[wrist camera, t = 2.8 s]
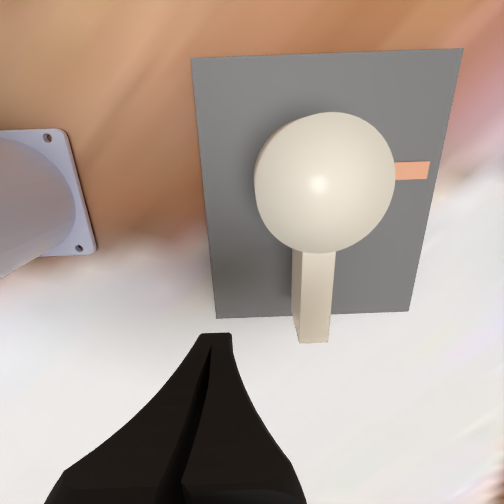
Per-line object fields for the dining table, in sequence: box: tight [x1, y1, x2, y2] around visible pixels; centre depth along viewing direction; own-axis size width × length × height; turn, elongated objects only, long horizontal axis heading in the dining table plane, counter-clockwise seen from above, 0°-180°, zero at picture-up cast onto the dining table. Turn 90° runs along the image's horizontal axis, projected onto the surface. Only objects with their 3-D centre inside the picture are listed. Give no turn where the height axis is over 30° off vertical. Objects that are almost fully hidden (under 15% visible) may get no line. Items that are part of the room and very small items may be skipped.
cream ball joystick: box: [254, 112, 395, 343], centre depth 15 cm, size 12×6×4 cm, turn 2°
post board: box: [191, 48, 464, 319], centre depth 18 cm, size 14×16×2 cm
